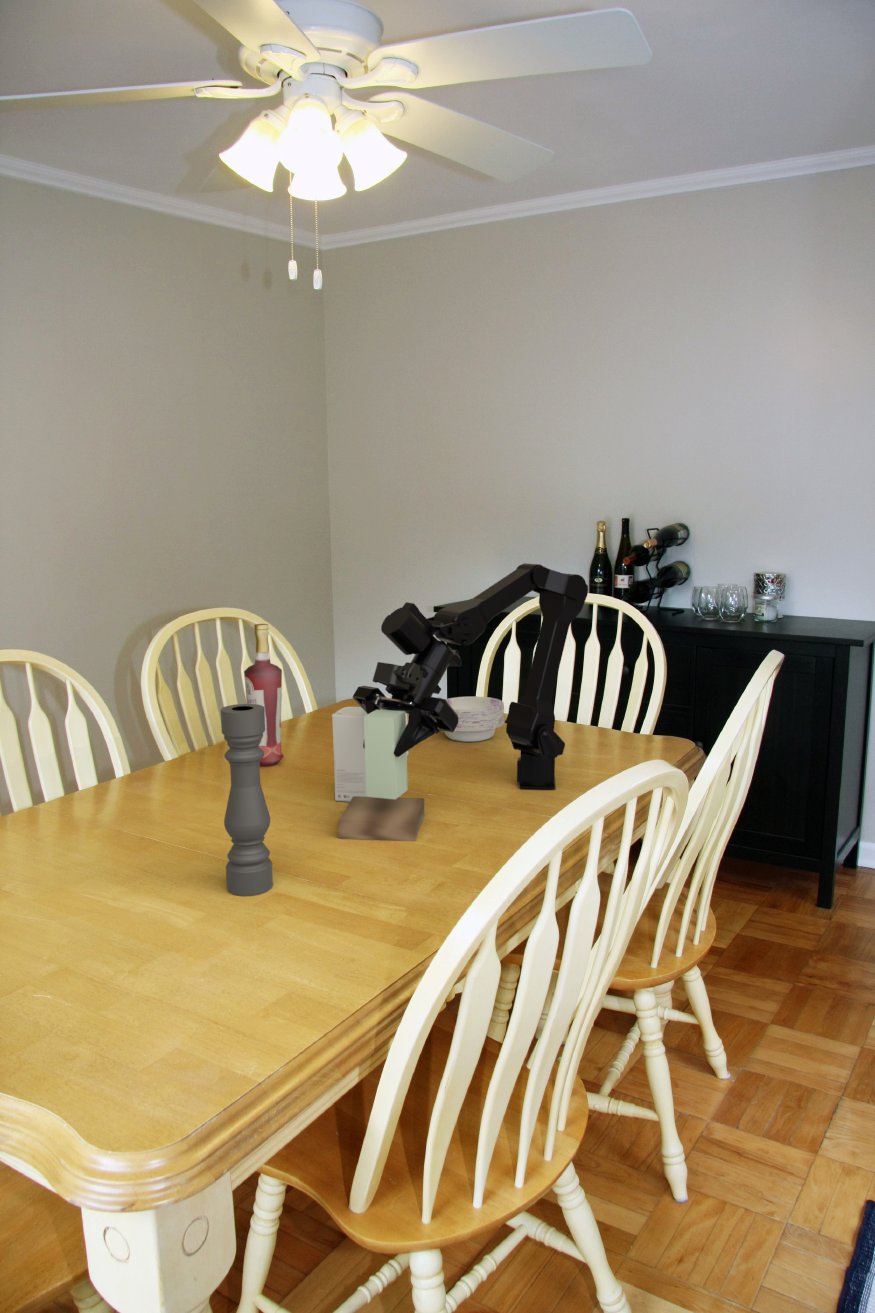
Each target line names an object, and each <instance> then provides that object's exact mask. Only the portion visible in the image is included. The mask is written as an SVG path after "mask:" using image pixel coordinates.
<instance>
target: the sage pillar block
mask: <svg viewBox="0 0 875 1313" xmlns="http://www.w3.org/2000/svg"><path fill="white" fill-rule="evenodd" d="M405 728H406V714H405V711H392V710H375V711H373V712H371V713H369V714H367V715H366V716H364V742H365V771H366V797H375V798H385V799H397V798H398V797H401V796H402V795H403V794H405V792H407V791H408V760H407V759H408V758H407V757H408V756H407V752H405V753H404V754H402V755H401V756H399V757H396V756H395V755H394V750H395V748H396V745H397V743H398V741H399V739H400V737H401V736H402V734H403V732H404V730H405Z"/></svg>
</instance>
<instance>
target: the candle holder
mask: <svg viewBox="0 0 875 1313" xmlns="http://www.w3.org/2000/svg"><path fill="white" fill-rule="evenodd" d="M220 725H221V727H220V728H221V734H222V735H223V740H224V741H225V742H226V743H227V746H228V747H229V749H227V751H225V753H224V758H225V760H226V761H227V762H228V764H230V765H229V766H230V767H229V768H230V770H229V771H230V788H229V789H230V790H229V792H228V798H227V799H228V800H227V805H226V810H225V814H224V820H223V826H224V828H225V829H224V830H226V833H227V834H228V836H229V837H230V838H231V843H232V844H233V845H232V846H231V848H230V850H229V851H228V853H227V854H226V855H227V856H226V857H227V859H228V861H227V863H226V865H225V873H226V874H225V876H226V879H225V880H226V890H227V892H228V893H229V894H232V895H233V896H239V897H252V896H258V895H261V894H265V893H267V892H269V891H271V889H273V886H274V877H273V876H274V875H273V861H272V860H271V858H270V855H271V852H270V849H269V848H268V847H267V846H266V844H265V843H264V841H265V835H266V834H267V832H268V829H269V827H270V824H271V816H270V812H269V808H268V805H267V803H266V798H265V795H264V791H263V787H262V783H261V768H260V767H261V766H260V761H261V759H262V758H263V756H264V751H263V750H262V749H261V748H259V744H260V742H261V739H262V738H263V732H264V731H265V711H264V707H263V706H262V705H258V704H247V703H238V704H231V705H227V706H223V707H221V709H220Z"/></svg>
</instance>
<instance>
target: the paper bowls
mask: <svg viewBox="0 0 875 1313" xmlns="http://www.w3.org/2000/svg"><path fill="white" fill-rule="evenodd" d="M444 699H445V700H446V701H447V702H448V703H449V705H450V706H451V707H452V708H453V710H454V711H455V712H456V713H457V715H458V724H457V726H456V728H455V730H454V732H448V731H443V732H444V734H445V735H446V737H447V738H448V739H450V740H451V741H452V740H453V741H457V742H462V743H463V742H464V743H467V742H468V743H472V742H475V743H476V742H483V741H486V740H489V739H491V738H492V737H493V736H494V734H495V733H496V729H497V728H500V727H502V726H504V724H505V704H504V701H502V700H501V699H499V698H494V697H488V696H457V697H456V696H455V697H450V698H444Z"/></svg>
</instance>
